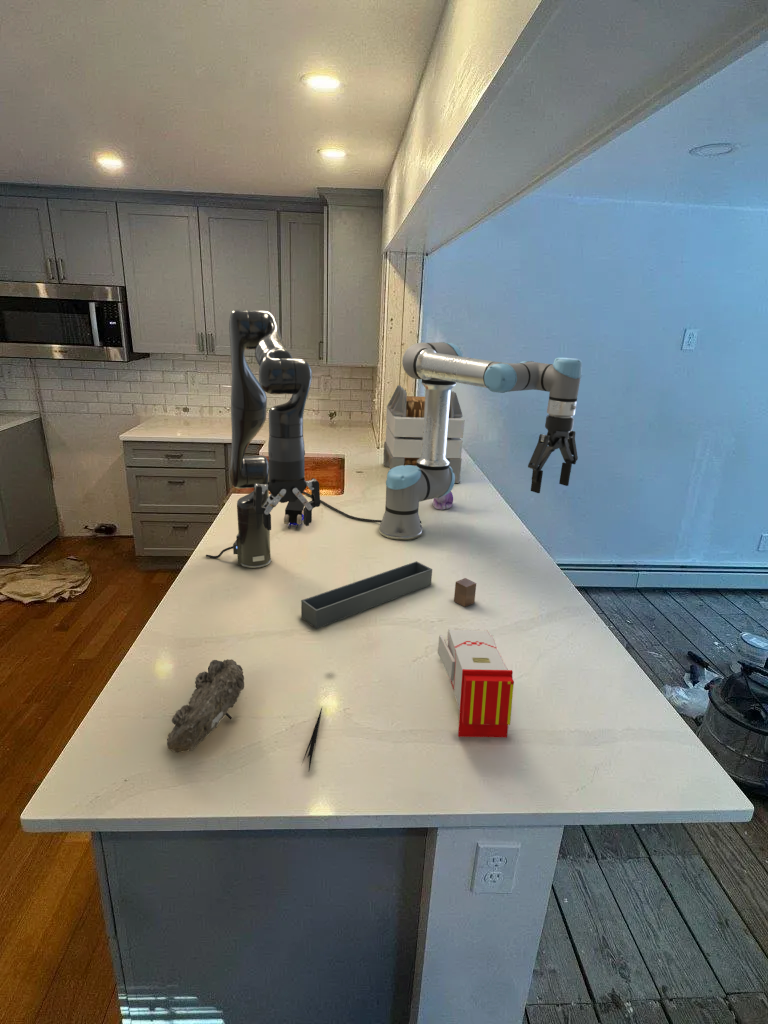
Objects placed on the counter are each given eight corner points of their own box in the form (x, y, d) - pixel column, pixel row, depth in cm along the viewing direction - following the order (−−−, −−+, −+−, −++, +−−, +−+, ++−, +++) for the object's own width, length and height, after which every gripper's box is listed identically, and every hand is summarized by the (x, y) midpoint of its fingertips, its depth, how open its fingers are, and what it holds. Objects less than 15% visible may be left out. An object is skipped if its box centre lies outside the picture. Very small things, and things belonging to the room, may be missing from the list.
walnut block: (453, 601, 155) (455, 581, 153) (463, 597, 158) (465, 577, 156) (464, 607, 152) (466, 587, 150) (474, 602, 155) (476, 583, 153)
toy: (488, 613, 130) (523, 677, 101) (484, 667, 133) (517, 744, 104) (435, 612, 130) (455, 676, 101) (432, 666, 133) (451, 743, 103)
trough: (301, 617, 144) (301, 600, 142) (415, 576, 169) (416, 561, 167) (316, 628, 139) (316, 610, 137) (431, 584, 164) (432, 569, 162)
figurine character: (302, 534, 199) (307, 515, 212) (302, 515, 195) (306, 496, 209) (283, 533, 199) (289, 514, 212) (282, 514, 195) (288, 496, 209)
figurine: (439, 511, 223) (442, 475, 218) (426, 503, 232) (428, 468, 227) (459, 508, 227) (462, 472, 222) (445, 501, 236) (448, 466, 231)
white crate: (382, 463, 289) (386, 382, 275) (445, 464, 293) (451, 384, 279) (390, 482, 257) (394, 392, 243) (460, 483, 261) (468, 394, 247)
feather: (331, 679, 122) (336, 673, 122) (307, 777, 96) (313, 769, 95) (324, 675, 122) (329, 669, 121) (298, 772, 95) (304, 764, 95)
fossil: (192, 660, 117) (244, 628, 112) (224, 691, 120) (276, 661, 115) (142, 746, 98) (202, 712, 93) (182, 779, 101) (242, 748, 96)
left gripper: (313, 449, 126) (313, 518, 131) (249, 453, 120) (251, 524, 126) (324, 458, 119) (323, 529, 125) (256, 462, 114) (258, 537, 119)
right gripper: (544, 421, 148) (533, 498, 155) (597, 414, 163) (585, 485, 170) (521, 416, 153) (511, 491, 160) (575, 410, 168) (564, 478, 175)
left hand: (287, 526), depth 125 cm, fingers open, 8 cm apart
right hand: (549, 488), depth 165 cm, fingers open, 13 cm apart
